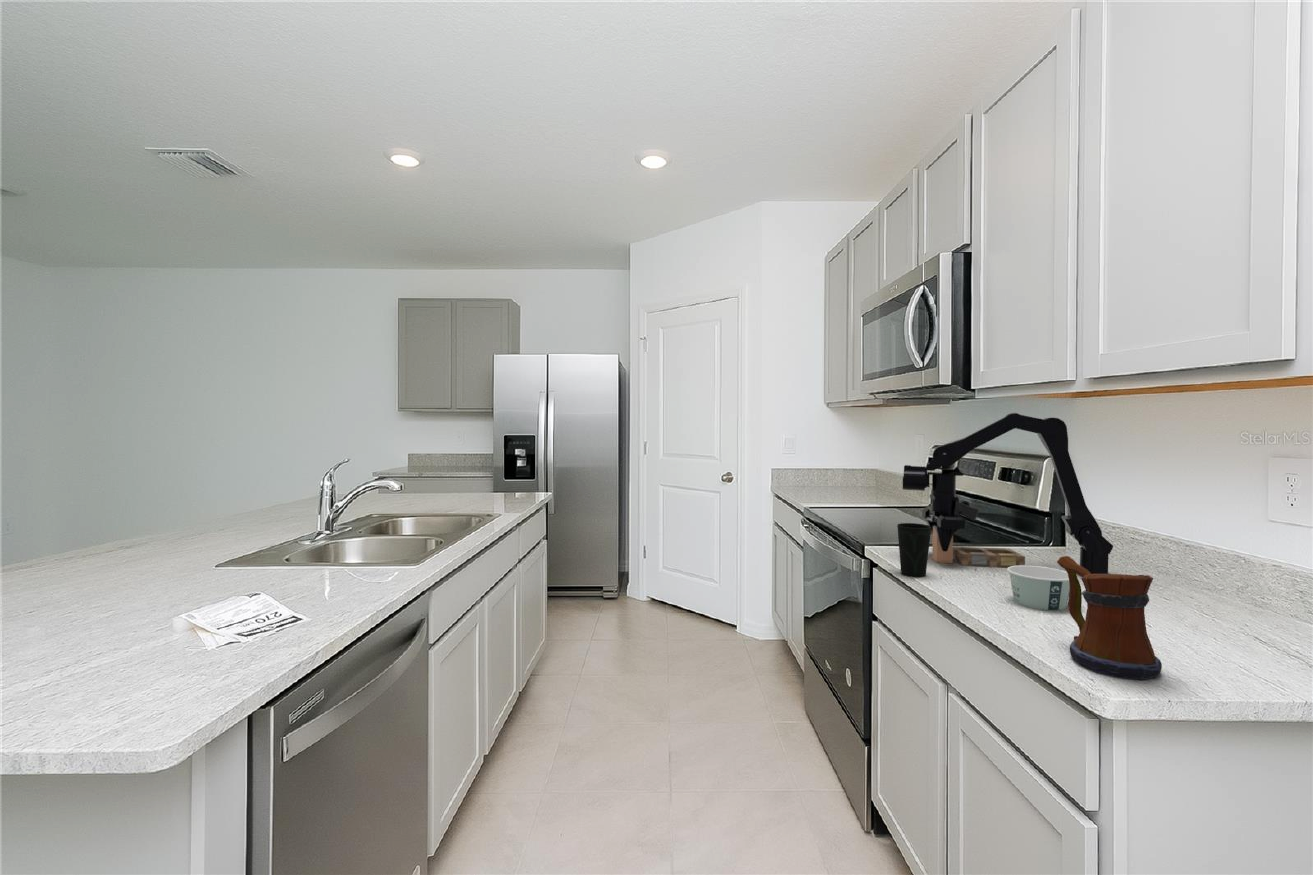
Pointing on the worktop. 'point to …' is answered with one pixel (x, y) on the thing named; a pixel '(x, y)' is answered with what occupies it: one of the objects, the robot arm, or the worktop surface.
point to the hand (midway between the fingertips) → (942, 549)
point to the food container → (1040, 587)
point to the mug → (1111, 623)
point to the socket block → (987, 557)
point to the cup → (913, 548)
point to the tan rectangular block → (937, 551)
